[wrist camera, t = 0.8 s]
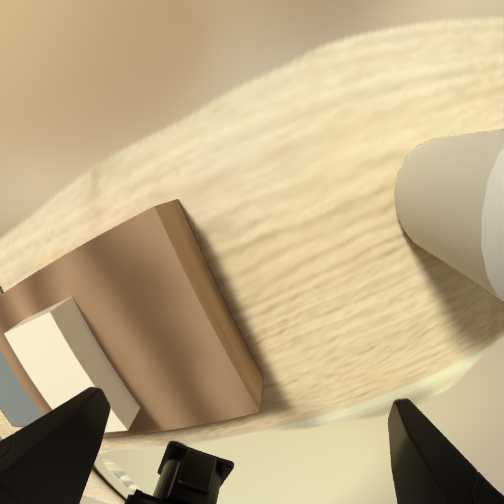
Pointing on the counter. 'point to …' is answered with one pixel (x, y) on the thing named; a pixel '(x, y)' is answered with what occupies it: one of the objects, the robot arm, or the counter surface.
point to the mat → (15, 397)
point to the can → (457, 203)
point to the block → (148, 322)
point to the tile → (69, 361)
